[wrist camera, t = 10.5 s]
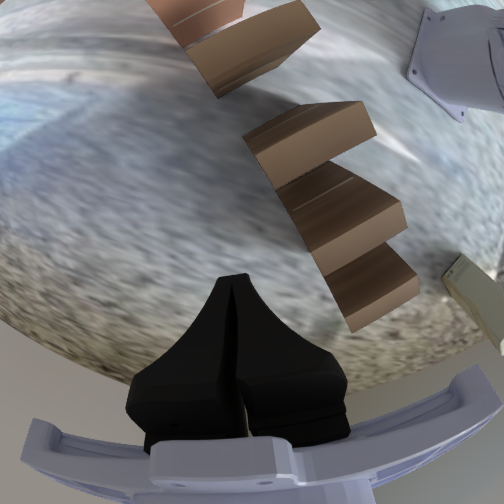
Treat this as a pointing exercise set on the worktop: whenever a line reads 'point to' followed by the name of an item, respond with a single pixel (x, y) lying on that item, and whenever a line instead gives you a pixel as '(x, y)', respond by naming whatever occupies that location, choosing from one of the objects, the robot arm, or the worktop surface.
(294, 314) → the worktop surface
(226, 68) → the walnut tile
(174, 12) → the terracotta tile
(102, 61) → the worktop surface
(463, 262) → the skincare box
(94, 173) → the worktop surface
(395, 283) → the walnut tile
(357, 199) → the walnut tile
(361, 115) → the walnut tile
